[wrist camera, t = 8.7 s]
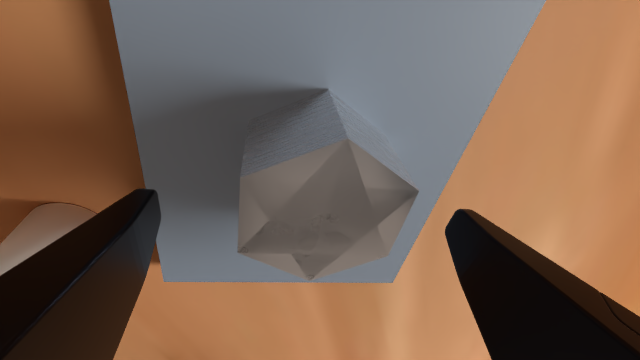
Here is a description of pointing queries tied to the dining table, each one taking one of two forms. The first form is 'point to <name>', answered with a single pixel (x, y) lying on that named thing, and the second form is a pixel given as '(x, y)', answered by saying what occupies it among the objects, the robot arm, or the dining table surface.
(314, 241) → the grey faceted polyhedron
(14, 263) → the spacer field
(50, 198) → the dining table surface
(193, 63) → the board
